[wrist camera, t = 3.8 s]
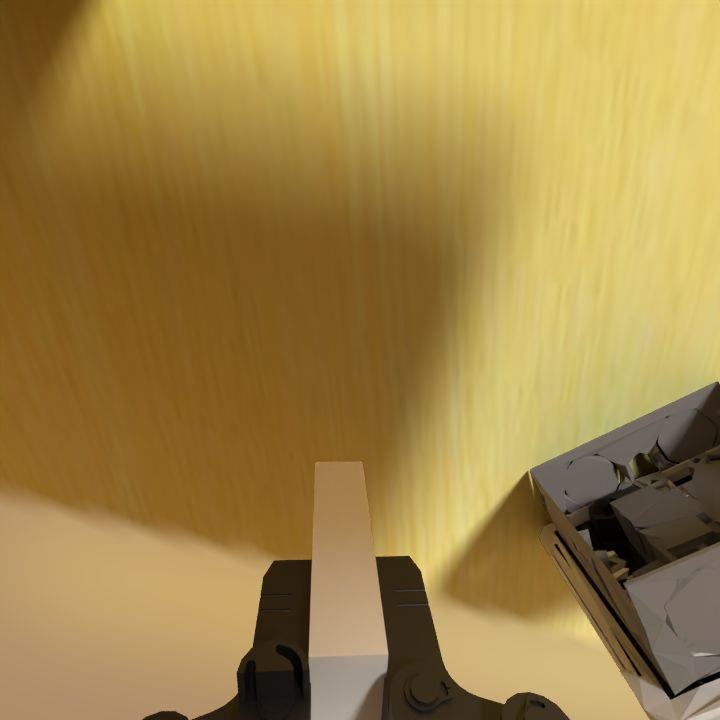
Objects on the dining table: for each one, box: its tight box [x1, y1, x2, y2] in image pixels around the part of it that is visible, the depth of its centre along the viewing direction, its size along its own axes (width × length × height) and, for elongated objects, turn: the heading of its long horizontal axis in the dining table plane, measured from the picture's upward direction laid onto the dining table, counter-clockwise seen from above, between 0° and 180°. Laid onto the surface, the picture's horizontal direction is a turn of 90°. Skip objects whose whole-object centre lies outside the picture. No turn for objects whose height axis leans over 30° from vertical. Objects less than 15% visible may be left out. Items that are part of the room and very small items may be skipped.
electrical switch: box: [530, 381, 720, 720], centre depth 14 cm, size 9×5×9 cm, turn 118°
